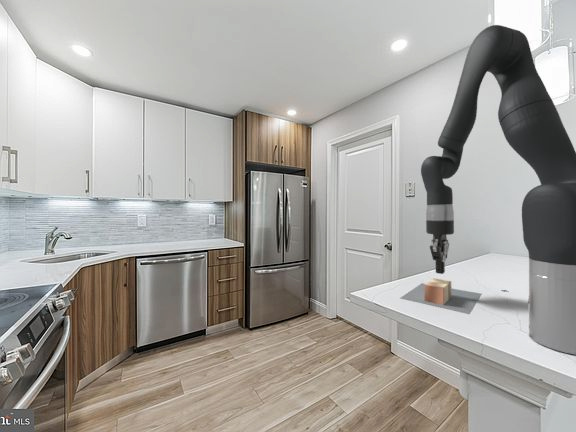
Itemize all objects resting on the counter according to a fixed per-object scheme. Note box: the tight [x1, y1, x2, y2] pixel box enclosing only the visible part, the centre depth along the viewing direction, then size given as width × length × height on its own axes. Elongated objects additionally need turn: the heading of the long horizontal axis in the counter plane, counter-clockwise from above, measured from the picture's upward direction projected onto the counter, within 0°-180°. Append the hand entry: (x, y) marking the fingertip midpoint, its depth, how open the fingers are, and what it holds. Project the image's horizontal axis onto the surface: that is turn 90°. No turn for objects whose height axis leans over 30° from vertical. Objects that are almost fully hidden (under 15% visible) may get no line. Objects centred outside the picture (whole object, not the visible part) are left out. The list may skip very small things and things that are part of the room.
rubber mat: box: [399, 283, 482, 315], centre depth 79 cm, size 18×22×1 cm
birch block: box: [424, 277, 452, 305], centre depth 76 cm, size 5×5×10 cm
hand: (440, 273), depth 78 cm, fingers closed
